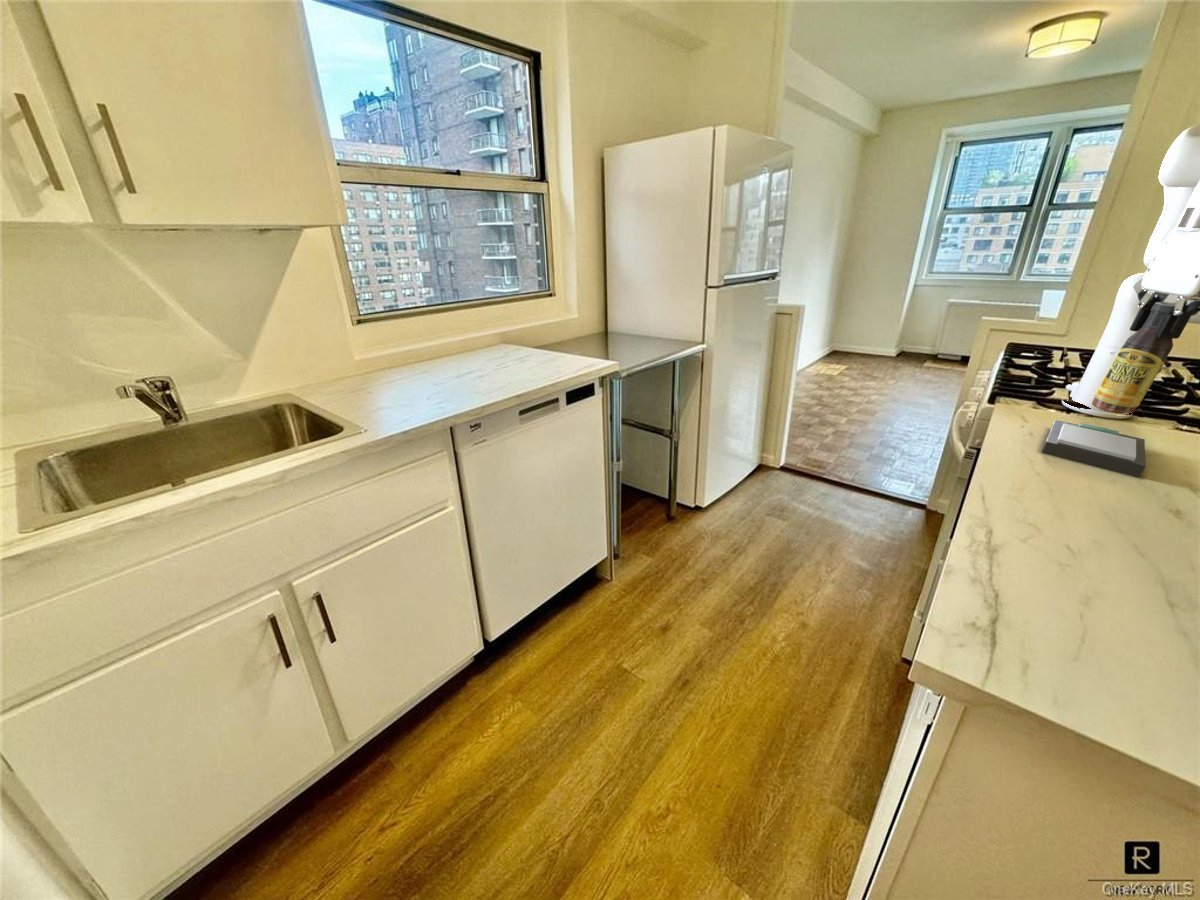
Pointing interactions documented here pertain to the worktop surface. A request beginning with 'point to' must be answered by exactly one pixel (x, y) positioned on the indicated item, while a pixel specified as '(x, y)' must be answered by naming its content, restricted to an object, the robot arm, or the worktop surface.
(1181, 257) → the robot arm
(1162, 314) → the sauce bottle
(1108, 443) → the scale
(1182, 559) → the worktop surface
